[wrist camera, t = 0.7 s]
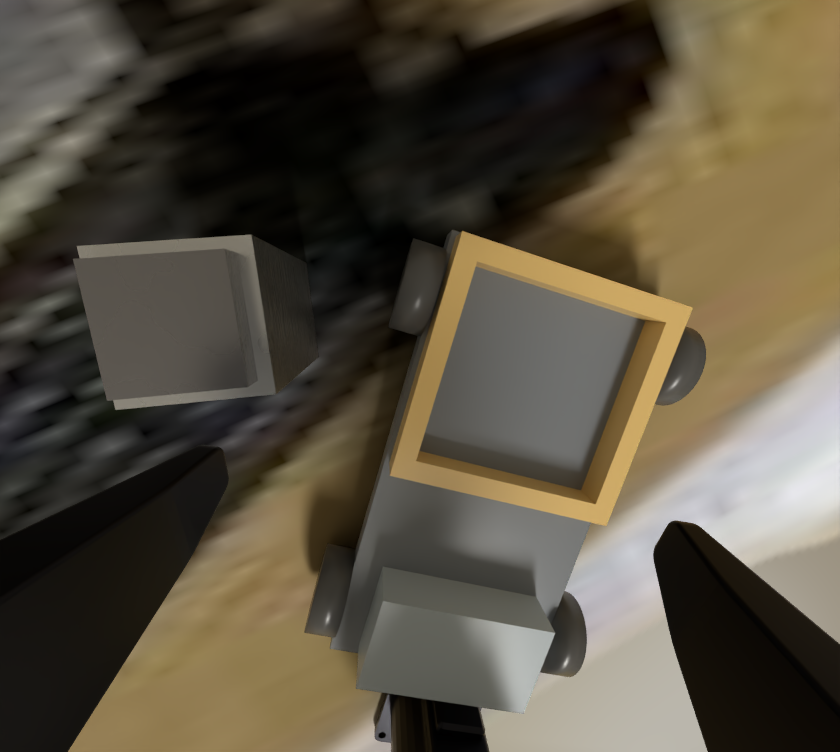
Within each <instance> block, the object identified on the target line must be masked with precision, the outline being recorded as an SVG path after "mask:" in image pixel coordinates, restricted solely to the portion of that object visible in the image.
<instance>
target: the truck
mask: <svg viewBox="0 0 840 752" xmlns="http://www.w3.org/2000/svg"><path fill="white" fill-rule="evenodd" d="M692 309H693V308H692V307H689V306H686V305H683V304H680V303H677V302H674V301H671V300H668V299H665V298H662V297H659V296H656V295H653V294H650V293H647V292H644V291H641V290H638V289H635V288H632V287H629V286H626V285H623V284H620V283H617V282H614V281H611V280H608V279H605V278H602V277H599V276H596V275H593V274H590V273H587V272H584V271H581V270H578V269H575V268H572V267H569V266H566V265H563V264H560V263H557V262H554V261H551V260H548V259H545V258H542V257H539V256H536V255H533V254H530V253H527V252H524V251H521V250H518V249H515V248H512V247H509V246H506V245H503V244H500V243H497V242H494V241H491V240H488V239H485V238H482V237H479V236H476V235H473V234H470V233H467V232H464V231H462V232H458V231H455V230H452V231H451V232H450V233H449V234H448V235H447V237H446V241H445V244H444V247H443V248H442V247H439V246H436V245H433V244H430V243H427V242H423V241H420V240H417V239H414V238H413V240H412V243H411V246H410V249H409V252H408V255H407V259H406V262H405V265H404V269H403V272H402V276H401V279H400V283H399V286H398V290H397V294H396V297H395V301H394V305H393V309H392V313H391V317H390V321H389V328H392V329H396V330H399V331H403V332H406V333H410V334H413V335H417V336H418V337H417V340H416V344H415V347H414V351H413V354H412V357H411V361H410V364H409V368H408V371H407V375H406V378H405V381H404V385H403V388H402V392H401V395H400V399H399V402H398V405H397V409H396V412H395V416H394V419H393V423H392V426H391V430H390V433H389V436H388V440H387V443H386V447H385V450H384V454H383V457H382V460H381V464H380V467H379V471H378V474H377V478H376V481H375V485H374V488H373V491H372V495H371V498H370V502H369V505H368V509H367V512H366V515H365V519H364V522H363V526H362V529H361V533H360V536H359V539H358V543H357V546H356V550H355V549H353V548H348V547H343V546H338V545H333V544H328V543H327V546H326V549H325V553H324V556H323V560H322V563H321V567H320V571H319V574H318V578H317V582H316V586H315V590H314V594H313V598H312V602H311V606H310V610H309V614H308V618H307V622H306V627H305V633H310V634H315V635H321V636H327V637H332V638H331V644H330V649H336V650H342V651H348V652H354V653H358V665H357V680H356V689H362V690H369V691H375V692H382V693H389V694H395V695H402V696H409V697H415V698H422V699H428V700H435V701H442V702H448V703H455V704H462V705H468V706H475V707H481V708H488V709H495V710H501V711H508V712H515V713H521V714H524V711H525V709H526V706H527V704H528V701H529V699H530V696H531V694H532V691H533V689H534V686H535V683H536V681H537V678H538V676H539V673H540V672H542V673H547V674H553V675H559V676H565V677H572V676H574V675H575V674H576V673H577V672H578V671H579V670H580V668H581V666H582V664H583V661H584V658H585V653H586V644H587V636H586V626H585V621H584V617H583V613H582V610H581V608H580V606H579V604H578V602H577V600H576V599H575V598H574V597H573V596H572V595H571V594H570V593H568V592H565V588H566V585H567V583H568V580H569V578H570V575H571V573H572V570H573V567H574V565H575V562H576V560H577V557H578V555H579V552H580V549H581V547H582V544H583V542H584V539H585V537H586V534H587V532H588V529H589V526H590V524H591V523H595V524H600V525H604V526H607V523H608V521H609V518H610V515H611V513H612V510H613V508H614V505H615V503H616V500H617V498H618V495H619V493H620V490H621V488H622V485H623V483H624V480H625V478H626V475H627V473H628V470H629V468H630V465H631V463H632V460H633V457H634V455H635V452H636V450H637V447H638V445H639V442H640V440H641V437H642V435H643V432H644V430H645V427H646V425H647V422H648V420H649V417H650V415H651V412H652V410H653V407H654V405H655V404H656V405H669V404H673V403H675V402H677V401H679V400H681V399H682V398H684V397H685V396H686V395H687V394H688V393H689V392H690V391H691V390H692V389H693V388H694V386H695V385H696V384H697V382H698V380H699V379H700V376H701V374H702V372H703V369H704V365H705V360H706V348H705V344H704V341H703V339H702V337H701V335H700V334H699V333H698V332H697V331H695V330H694V329H692V328H689V327H686V324H687V321H688V319H689V316H690V314H691V311H692Z"/></svg>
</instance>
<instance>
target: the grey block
mask: <svg viewBox="0 0 840 752" xmlns="http://www.w3.org/2000/svg"><path fill="white" fill-rule="evenodd" d="M77 249H78V253H79V257H80V259H73V261H74V265H75V269H76V273H77V277H78V281H79V286H80V290H81V294H82V298H83V302H84V306H85V311H86V315H87V319H88V323H89V327H90V331H91V336H92V340H93V344H94V348H95V352H96V356H97V361H98V365H99V369H100V373H101V377H102V381H103V386H104V390H105V394H106V398H107V401H110V400H113V401H114V405H115V409H116V410H119V409H129V408H140V407H150V406H160V405H170V404H180V403H191V402H201V401H211V400H221V399H231V398H242V397H252V396H262V395H272V394H277V393H278V392H279V391H280V390H281V389H282V388H284V387H285V386H286V385H287V384H288V383H289V382H291V381H292V380H293V379H294V378H295V377H296V376H297V375H299V374H300V373H301V372H302V371H303V370H304V369H305V368H307V367H308V366H309V365H310V364H311V363H312V362H313V361H315V360H316V359H317V358H318V357H319V354H318V347H317V339H316V331H315V324H314V316H313V308H312V301H311V293H310V285H309V278H308V270H307V263H305V262H303V261H302V260H300V259H298V258H296V257H294V256H292V255H290V254H288V253H286V252H284V251H282V250H280V249H278V248H276V247H274V246H272V245H271V244H269V243H267V242H265V241H263V240H261V239H259V238H257V237H255V236H253V235H238V236H223V237H208V238H193V239H178V240H163V241H148V242H133V243H118V244H103V245H88V246H77Z"/></svg>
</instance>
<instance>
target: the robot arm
mask: <svg viewBox="0 0 840 752" xmlns="http://www.w3.org/2000/svg"><path fill="white" fill-rule="evenodd" d="M228 479H229V477H228V471H227V466H226V461H225V456H224V452H223V450H222V449H221V448H219V447H215V446H209V445H199V446H197V447H195V448H193V449H190V450H188V451H186V452H184V453H182V454H180V455H178V456H176V457H174V458H171V459H169V460H167V461H165V462H163V463H161V464H159V465H157V466H155V467H153V468H150V469H148V470H146V471H144V472H142V473H140V474H138V475H136V476H134V477H131V478H129V479H127V480H125V481H123V482H121V483H119V484H117V485H115V486H113V487H110V488H108V489H106V490H104V491H102V492H100V493H98V494H96V495H94V496H91V497H89V498H87V499H85V500H83V501H81V502H79V503H77V504H75V505H73V506H70V507H68V508H66V509H64V510H62V511H60V512H58V513H56V514H54V515H51V516H49V517H47V518H45V519H43V520H41V521H39V522H37V523H35V524H32V525H30V526H28V527H26V528H24V529H22V530H20V531H18V532H16V533H13V534H11V535H9V536H7V537H5V538H3V539H1V540H0V752H68V750H69V749H70V747H71V746H72V744H73V743H74V741H75V739H76V738H77V736H78V735H79V733H80V732H81V730H82V728H83V727H84V725H85V724H86V722H87V721H88V719H89V717H90V716H91V714H92V713H93V711H94V710H95V708H96V706H97V705H98V703H99V702H100V700H101V699H102V697H103V695H104V694H105V692H106V691H107V689H108V688H109V686H110V684H111V683H112V681H113V680H114V678H115V677H116V675H117V673H118V672H119V670H120V669H121V667H122V666H123V664H124V662H125V661H126V659H127V658H128V656H129V655H130V653H131V651H132V650H133V648H134V647H135V645H136V643H137V642H138V640H139V639H140V637H141V636H142V634H143V632H144V631H145V629H146V628H147V626H148V625H149V623H150V621H151V620H152V618H153V617H154V615H155V614H156V612H157V610H158V609H159V607H160V606H161V604H162V603H163V601H164V599H165V598H166V596H167V595H168V593H169V592H170V590H171V588H172V587H173V585H174V584H175V582H176V581H177V579H178V577H179V576H180V574H181V573H182V571H183V570H184V568H185V566H186V565H187V563H188V561H189V560H190V558H191V556H192V555H193V553H194V551H195V549H196V547H197V545H198V543H199V541H200V539H201V537H202V535H203V533H204V532H205V530H206V528H207V526H208V524H209V522H210V520H211V518H212V516H213V514H214V512H215V510H216V508H217V506H218V504H219V502H220V500H221V498H222V496H223V494H224V492H225V490H226V488H227V485H228ZM653 557H654V564H655V568H656V573H657V577H658V582H659V586H660V591H661V595H662V600H663V604H664V609H665V613H666V618H667V622H668V626H669V631H670V635H671V639H672V643H673V646H674V649H675V653H676V656H677V659H678V662H679V665H680V668H681V671H682V674H683V678H684V681H685V684H686V686H687V690H688V693H689V695H690V699H691V702H692V705H693V708H694V711H695V714H696V717H697V720H698V723H699V726H700V729H701V732H702V735H703V739H704V741H705V745H706V748H707V751H708V752H840V644H839V643H838V642H836V641H835V640H834V639H833V638H832V637H831V636H829V635H828V634H827V633H825V632H824V631H823V630H822V629H821V628H820V627H819V626H817V625H816V624H815V623H814V622H813V621H812V620H810V619H809V618H808V617H807V616H806V615H804V614H803V613H802V612H801V611H799V610H798V609H797V608H796V607H795V606H794V605H792V604H791V603H790V602H789V601H788V600H786V599H785V598H784V597H783V596H782V595H780V594H779V593H778V592H777V591H776V590H775V589H773V588H772V587H771V586H770V585H769V584H767V583H766V582H765V581H764V580H762V579H761V578H760V577H759V576H758V575H757V574H755V573H754V572H753V571H752V570H751V569H750V568H748V567H747V566H746V565H745V564H744V563H742V562H741V561H740V560H739V559H738V558H736V557H735V556H734V555H733V554H732V553H730V552H729V551H728V550H727V549H726V548H724V547H723V546H722V545H721V544H720V543H718V542H717V541H716V540H715V539H714V538H713V537H711V536H710V535H709V534H708V533H707V532H705V531H704V530H703V529H702V528H701V527H699V526H698V525H696V524H693V523H688V522H681V521H672V522H670V523H669V524H668V525H667V527H666V529H665V531H664V532H663V534H662V536H661V537H660V539H659V541H658V542H657V544H656V546H655V548H654V554H653ZM480 711H481V707H475V706H468V705H462V704H455V703H448V702H442V701H435V700H428V699H422V698H415V697H409V696H402V695H395V694H389V693H386V695H385V698H384V701H383V705H382V708H381V711H380V714H379V717H378V720H377V723H376V726H375V739H376V740H377V741H381V742H389V743H391V752H489V748H488V744H487V740H486V735H485V728H484V724H483V720H482V716H481V712H480Z"/></svg>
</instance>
